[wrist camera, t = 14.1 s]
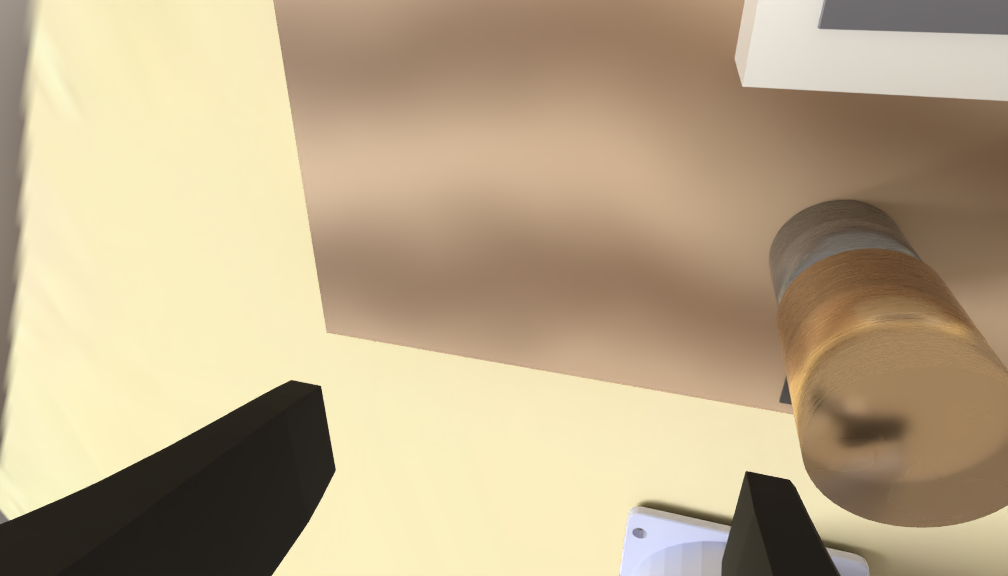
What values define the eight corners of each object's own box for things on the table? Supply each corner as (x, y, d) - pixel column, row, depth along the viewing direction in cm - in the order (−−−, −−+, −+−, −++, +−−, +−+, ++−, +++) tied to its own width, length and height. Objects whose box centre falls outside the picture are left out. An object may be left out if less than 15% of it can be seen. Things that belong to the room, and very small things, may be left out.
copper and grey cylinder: (881, 322, 16) (989, 548, 10) (750, 299, 16) (778, 499, 10) (931, 206, 14) (1095, 393, 8) (783, 187, 15) (837, 346, 9)
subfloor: (1052, 433, 17) (1076, 466, 16) (344, 315, 22) (325, 333, 21) (1631, -576, 8) (1772, -657, 7) (246, -372, 14) (205, -401, 13)
